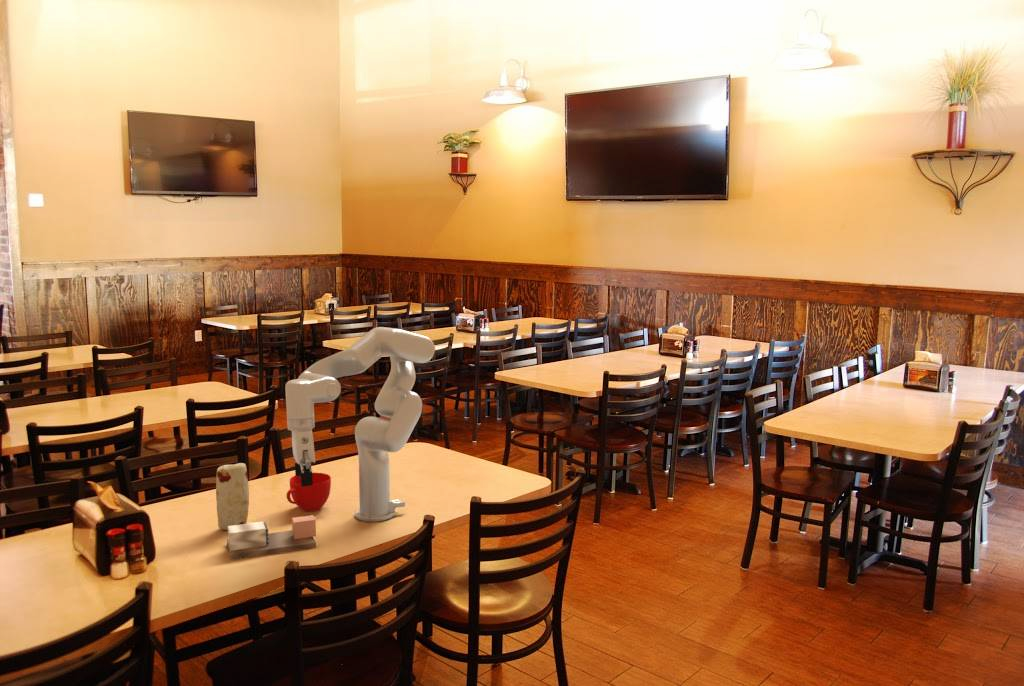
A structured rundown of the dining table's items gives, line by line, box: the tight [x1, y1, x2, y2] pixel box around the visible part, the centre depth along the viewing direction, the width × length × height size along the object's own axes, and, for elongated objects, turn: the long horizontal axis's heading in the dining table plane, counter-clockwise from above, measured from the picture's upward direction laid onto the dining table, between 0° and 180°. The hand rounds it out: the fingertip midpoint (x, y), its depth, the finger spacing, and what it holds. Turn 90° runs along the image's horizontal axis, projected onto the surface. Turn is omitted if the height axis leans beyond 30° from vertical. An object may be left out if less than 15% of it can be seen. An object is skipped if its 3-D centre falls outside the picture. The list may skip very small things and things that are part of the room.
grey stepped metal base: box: [226, 521, 317, 561], centre depth 232 cm, size 23×12×6 cm, turn 114°
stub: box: [291, 514, 317, 539], centre depth 235 cm, size 6×4×5 cm, turn 114°
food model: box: [215, 462, 250, 531], centre depth 244 cm, size 10×7×20 cm
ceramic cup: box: [286, 472, 332, 512], centre depth 261 cm, size 13×17×10 cm
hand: (304, 480), depth 234 cm, fingers open, 9 cm apart
